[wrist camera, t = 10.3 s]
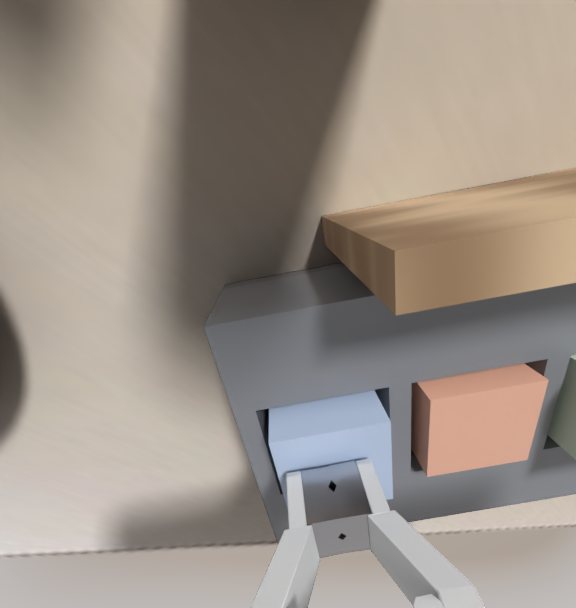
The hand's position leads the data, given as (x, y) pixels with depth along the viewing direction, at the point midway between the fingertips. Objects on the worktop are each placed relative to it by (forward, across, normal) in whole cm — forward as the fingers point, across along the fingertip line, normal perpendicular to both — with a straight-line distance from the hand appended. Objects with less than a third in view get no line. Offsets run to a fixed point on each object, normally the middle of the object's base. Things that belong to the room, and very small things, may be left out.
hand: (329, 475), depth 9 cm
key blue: (+4, 0, 0) cm, 4 cm away
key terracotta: (+4, -6, 0) cm, 7 cm away
